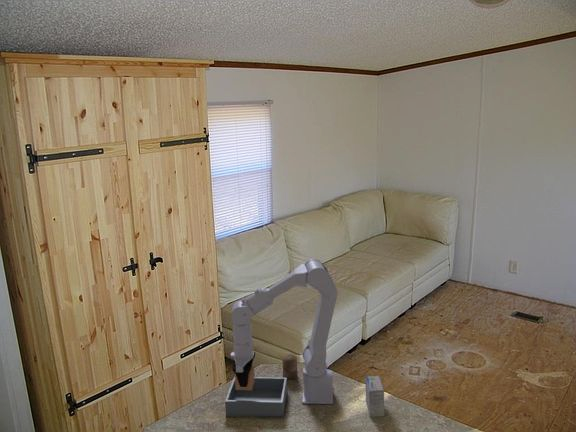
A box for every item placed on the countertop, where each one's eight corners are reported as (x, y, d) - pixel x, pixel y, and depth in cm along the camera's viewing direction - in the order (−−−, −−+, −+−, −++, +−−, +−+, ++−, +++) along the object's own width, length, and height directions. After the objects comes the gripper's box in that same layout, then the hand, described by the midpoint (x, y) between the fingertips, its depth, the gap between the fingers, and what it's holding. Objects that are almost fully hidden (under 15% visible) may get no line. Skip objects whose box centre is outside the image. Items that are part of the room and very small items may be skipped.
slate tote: (287, 391, 148) (286, 377, 147) (283, 417, 136) (282, 402, 135) (235, 390, 150) (234, 376, 149) (226, 416, 137) (224, 401, 136)
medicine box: (384, 417, 134) (384, 390, 132) (369, 417, 134) (369, 390, 132) (379, 400, 142) (379, 375, 140) (365, 401, 142) (365, 375, 140)
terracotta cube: (239, 380, 145) (238, 366, 144) (254, 381, 144) (253, 366, 143) (235, 389, 140) (234, 374, 139) (251, 390, 139) (250, 375, 138)
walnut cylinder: (298, 372, 159) (297, 354, 158) (297, 380, 154) (296, 361, 153) (283, 372, 160) (283, 354, 158) (282, 380, 155) (281, 361, 153)
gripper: (234, 329, 146) (237, 368, 149) (224, 352, 132) (227, 394, 135) (256, 329, 146) (258, 368, 148) (248, 352, 131) (251, 395, 134)
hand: (245, 381), depth 142 cm, fingers closed on terracotta cube, 5 cm apart
